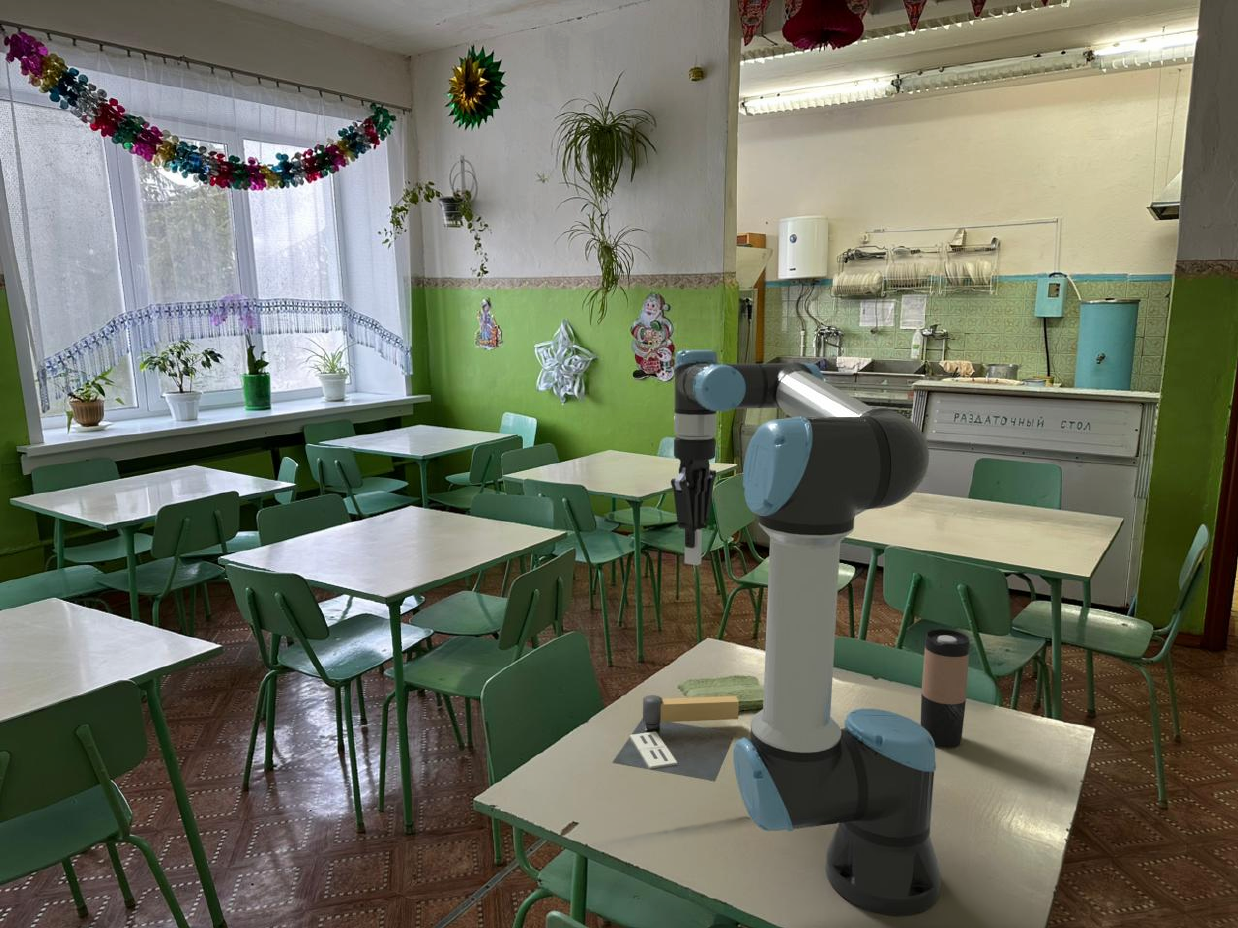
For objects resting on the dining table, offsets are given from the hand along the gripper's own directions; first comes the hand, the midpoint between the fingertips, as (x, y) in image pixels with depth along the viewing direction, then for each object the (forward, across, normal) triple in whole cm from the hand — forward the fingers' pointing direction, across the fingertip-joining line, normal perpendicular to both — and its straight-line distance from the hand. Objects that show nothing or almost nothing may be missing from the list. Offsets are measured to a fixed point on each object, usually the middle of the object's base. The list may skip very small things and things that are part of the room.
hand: (692, 563), depth 154 cm
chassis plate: (+32, +10, +3) cm, 34 cm away
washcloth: (+33, -15, 0) cm, 36 cm away
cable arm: (+29, +2, +1) cm, 29 cm away
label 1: (+31, +12, -2) cm, 33 cm away
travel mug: (+33, -22, +41) cm, 57 cm away
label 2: (+31, +15, +2) cm, 35 cm away
